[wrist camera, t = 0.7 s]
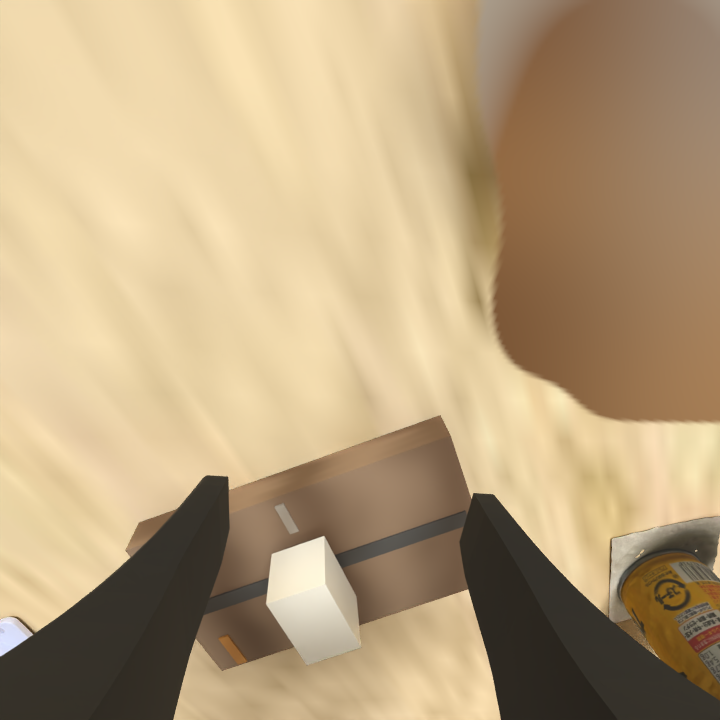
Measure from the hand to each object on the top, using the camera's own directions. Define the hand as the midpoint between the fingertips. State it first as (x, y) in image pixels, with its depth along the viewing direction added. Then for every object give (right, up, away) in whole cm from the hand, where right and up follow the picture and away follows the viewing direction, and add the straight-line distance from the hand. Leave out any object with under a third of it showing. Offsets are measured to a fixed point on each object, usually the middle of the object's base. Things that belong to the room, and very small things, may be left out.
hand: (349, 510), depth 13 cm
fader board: (-2, -6, +14) cm, 15 cm away
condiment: (+21, -10, +18) cm, 29 cm away
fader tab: (-2, -8, +12) cm, 14 cm away
